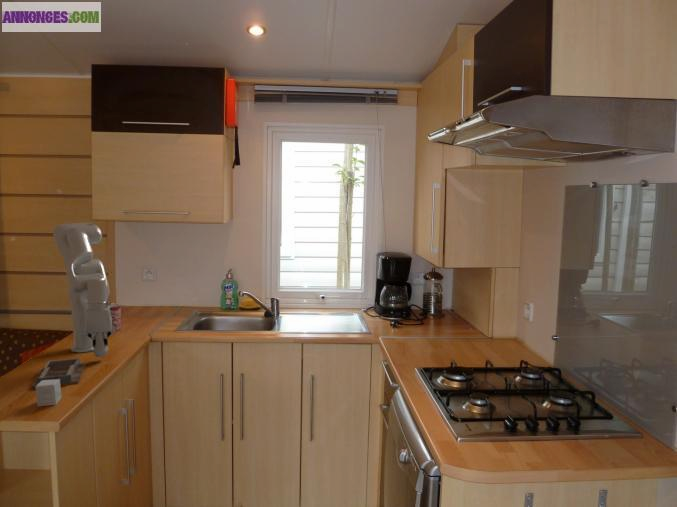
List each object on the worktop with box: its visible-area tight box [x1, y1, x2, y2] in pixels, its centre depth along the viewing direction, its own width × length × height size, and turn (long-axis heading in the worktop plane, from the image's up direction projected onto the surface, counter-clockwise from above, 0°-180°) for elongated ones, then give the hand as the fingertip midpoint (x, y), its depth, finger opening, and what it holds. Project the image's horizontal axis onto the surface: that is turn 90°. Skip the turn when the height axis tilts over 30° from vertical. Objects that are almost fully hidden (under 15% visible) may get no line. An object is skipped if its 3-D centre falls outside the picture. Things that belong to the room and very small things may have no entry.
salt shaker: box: [92, 330, 109, 358], centre depth 232 cm, size 6×6×13 cm
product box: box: [35, 379, 62, 407], centre depth 189 cm, size 6×6×7 cm
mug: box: [108, 302, 122, 332], centre depth 284 cm, size 13×9×14 cm
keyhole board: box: [30, 362, 87, 390], centre depth 215 cm, size 22×16×1 cm
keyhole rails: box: [39, 357, 82, 383], centre depth 215 cm, size 22×12×2 cm, turn 18°
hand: (100, 347), depth 233 cm, fingers closed on salt shaker, 3 cm apart
